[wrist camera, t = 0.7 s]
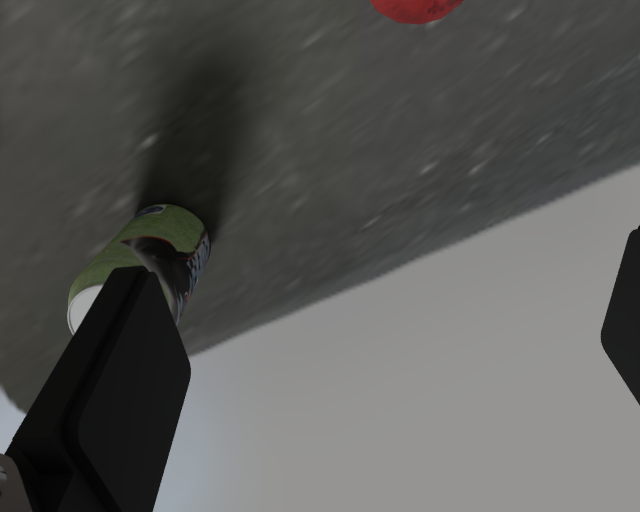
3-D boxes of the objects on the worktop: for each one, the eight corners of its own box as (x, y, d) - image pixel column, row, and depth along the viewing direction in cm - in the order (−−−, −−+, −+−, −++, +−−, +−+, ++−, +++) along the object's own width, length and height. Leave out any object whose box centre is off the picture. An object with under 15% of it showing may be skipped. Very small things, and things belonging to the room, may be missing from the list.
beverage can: (151, 272, 39) (94, 394, 29) (109, 191, 35) (26, 301, 25) (227, 258, 38) (194, 379, 28) (193, 173, 34) (141, 279, 24)
